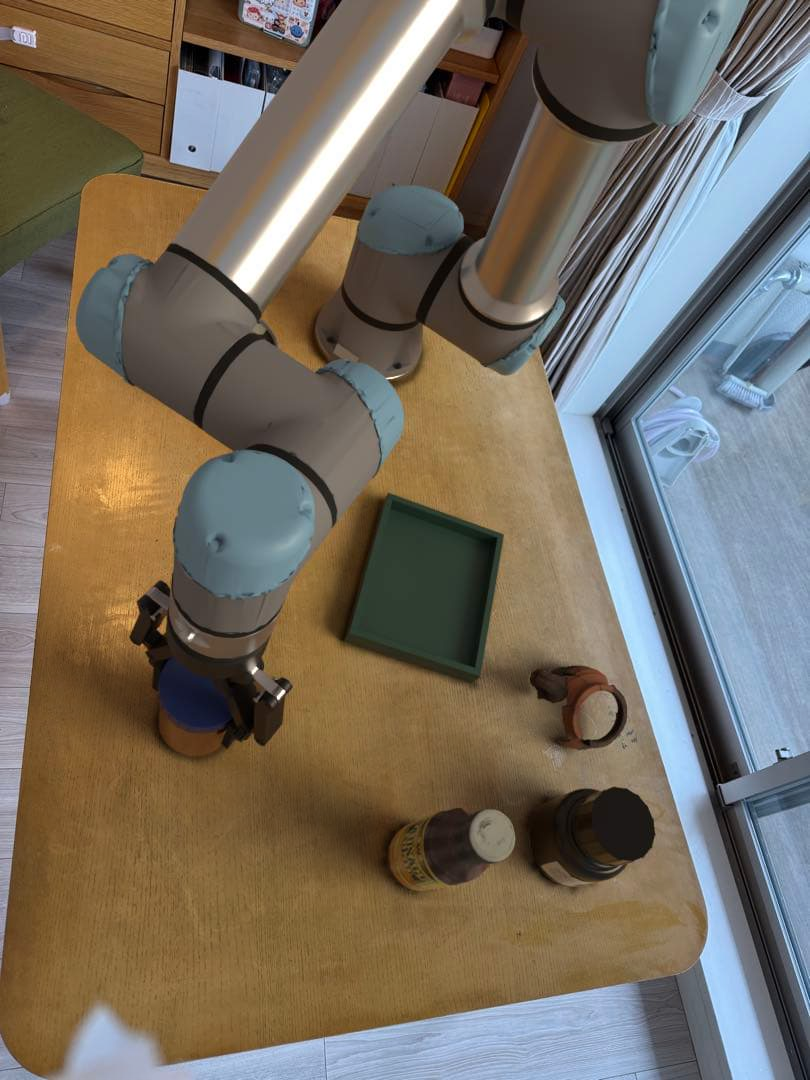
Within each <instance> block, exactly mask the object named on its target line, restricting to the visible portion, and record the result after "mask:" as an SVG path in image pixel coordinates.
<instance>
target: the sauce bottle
mask: <svg viewBox="0 0 810 1080" xmlns="http://www.w3.org/2000/svg"><path fill="white" fill-rule="evenodd" d="M515 843H516V833H515V828H514V825H513V823H512V821H511V819H510V818H509V817H508V816H507V815H505V814H504V813H503V812H502V811H500V810H498V809H495V808H485V809H479V810H476V811H475V812H470V811H469V810H467V809H464V808H463V807H455V808H452V809H447V810H442V811H438V812H436V813H433V814H431V815H428V816H426V817H423V818H421V819H419V820H416V821H413V822H411V823H409V824H407V825H405V826H403V827H402V828H400V829H399V830H398V831H397V832H396V834H394V835H393V836H392V839H391V840H390V844H389V846H388V850H387V860H386V861H387V864H388V867H389V869H390V872H391V874H392V876H393V877H394V879H395V881H396V882H397V883H399V884H401V885H402V886H403V887H404V888H407V889H409V890H413V891H417V892H422V891H423V892H424V891H430V890H435V889H441V888H445V887H452V886H458V885H462V884H463V883H468V882H472V881H473V880H476V879H478V878H479V877H480V876H481V875H483V873H485V872H486V871H487V869H488V868H489V867H490V865H493V864H498V863H501V862H503V861H504V860H506V859H508V857H509V856H510V855H511V854H512V853H513V850H514V848H515Z"/></svg>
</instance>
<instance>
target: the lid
mask: <svg viewBox="0 0 810 1080" xmlns="http://www.w3.org/2000/svg"><path fill="white" fill-rule="evenodd" d="M157 689H158V692H157V701H158V702H159V707H160V706H161V711H163V712H164V714H165V716H166V717H167V718H168V719H167V720H170V721H171V722H172V723H173V724H174V725H175V726H177V728H180V729H182V730H185V731H187V732H191V733H197V734H199V735H200V734H206V733H211V734H212V733H213V732H216V731H219V730H221V729H224V728H225V727H227V726H228V724H229V723H230V722H231V721H232V720H233V717H232V714H231V712H230V709H229V707H228V704H227V701H226V699H225V696H224V695H222V694H221V693H219V692H217V691H216V689H215V686H214V684H213V681H212V679H211V678H207V677H202V676H199V675H197V674H194V673H192V672H191V671H189V670H187V669H186V668H185V667H183V666H182V665H181V664H180V663H179V662H178V661H177V660H176V658H175V657H172V658H170V659H169V660H168V661H167V663H166V664H165V666H164V668H163V670H162V672H161V675H160V679H159V683H158V688H157Z"/></svg>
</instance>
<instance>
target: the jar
mask: <svg viewBox="0 0 810 1080" xmlns="http://www.w3.org/2000/svg"><path fill="white" fill-rule="evenodd" d="M167 719H168V718H167V717H166V716H165V714H164V712H163V711H161V706H160V705H159V713H158V729H159V733H160V735H161V738H162V739H163V741H164V742H165V744H166V745H167V746H168V747H169V748H170V749H171V750H173V751H174V752H176V753H178V754H181V755H183V756H187V757H201V756H205V755H208V754H211V753H213V752H215V751H216V750H218V749H219V748H221V747H222V746H223V745H222V744H221V743H222V740H223V737H224V735H225V732H226V729H227V727H228V726H227V727H225V728H224V729H221V730H219V731H216V732H213V733H212V734H211V733H206V734H200V735H199V734H197V733H191V732H187V731H185V730H182V729H180V728H177V726H175V725H174V724H173V723H172V722H171V721H170V720H167Z"/></svg>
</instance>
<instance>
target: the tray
mask: <svg viewBox="0 0 810 1080" xmlns="http://www.w3.org/2000/svg"><path fill="white" fill-rule="evenodd" d="M373 531H374V532H373V535H372V537H371V538H372V539H371V542H370V545H369V550H368V553H367V557H366V560H365V564H364V568H363V571H362V574H361V578H360V582H359V586H358V588H357V592H356V595H355V599H354V603H353V607H352V610H351V614H350V617H349V621H348V625H347V628H346V632H345V636H344V639H343V642H344V643H347V644H350V645H353V646H356V647H359V648H362V649H365V650H369V651H372V652H374V653H378V654H381V655H384V656H386V657H389V658H393V659H396V660H398V661H401V662H404V663H405V662H406V663H408V664H411V665H414V666H417V667H420V668H423V669H426V670H429V671H433V672H435V673H437V674H438V673H439V674H442V675H445V676H448V677H450V678H454V679H456V680H460V681H463V682H465V683H468V684H473V683H475V682H476V681H477V680H478V679H479V678H481V674H482V668H483V664H484V663H483V662H484V658H485V650H486V646H487V640H488V639H487V638H488V633H489V628H490V622H491V615H492V608H493V603H494V597H495V591H496V586H497V580H498V575H499V574H498V573H499V568H500V561H501V555H502V549H503V543H504V539H505V538H504V536H505V534H504V533H502V532H498V531H495V530H493V529H490V528H488V527H485V526H482V525H479V524H476V523H473V522H471V521H468V520H466V519H462V518H460V517H457V516H454V515H451V514H448V513H445V512H443V511H440V510H437V509H436V508H435V509H434V508H432V507H430V506H426V505H424V504H421V503H418V502H415V501H413V500H411V499H407V498H404V497H401V496H398V495H396V494H393V493H390V492H387V494H386V495H385V497H384V499H383V501H382V503H381V507H380V510H379V514H378V517H377V519H376V524H375V528H374V530H373Z"/></svg>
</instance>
